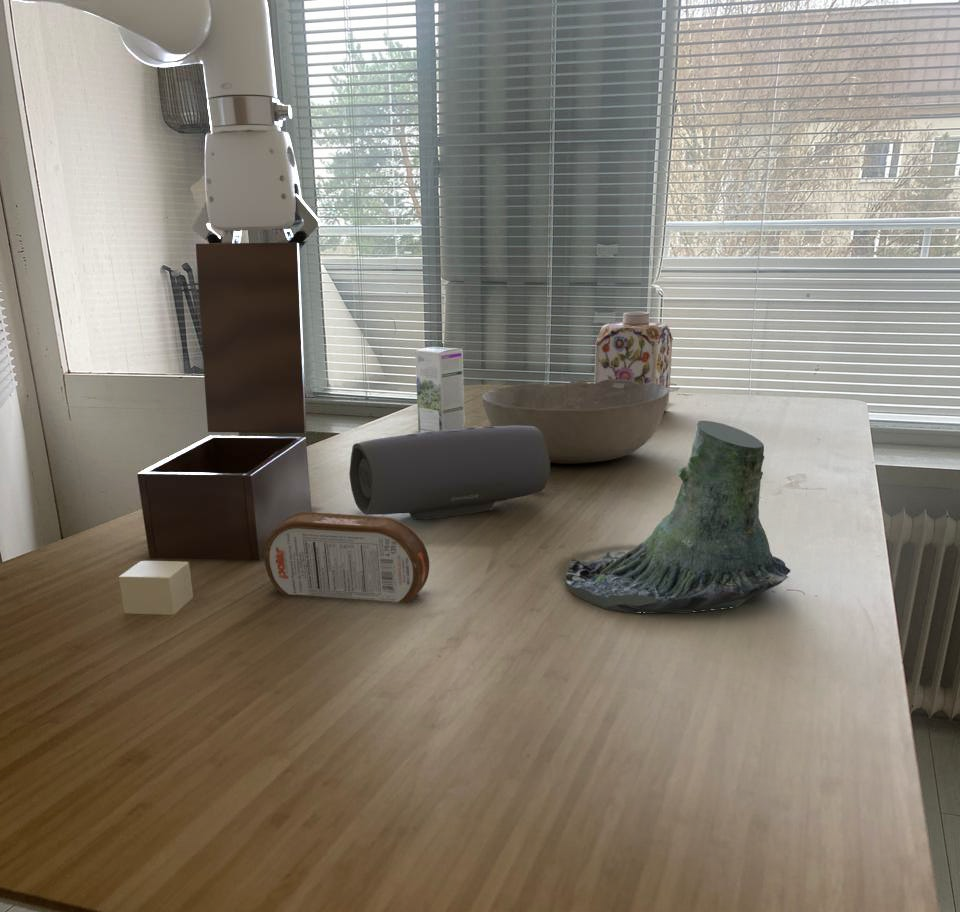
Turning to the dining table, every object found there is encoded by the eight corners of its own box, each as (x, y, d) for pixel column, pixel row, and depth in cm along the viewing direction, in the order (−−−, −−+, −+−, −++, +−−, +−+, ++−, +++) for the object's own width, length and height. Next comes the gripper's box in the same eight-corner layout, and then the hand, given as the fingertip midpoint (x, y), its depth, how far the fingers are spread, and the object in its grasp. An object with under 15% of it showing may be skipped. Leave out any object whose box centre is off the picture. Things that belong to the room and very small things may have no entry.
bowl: (687, 446, 154) (691, 381, 150) (628, 483, 131) (632, 408, 127) (529, 433, 165) (529, 372, 162) (450, 465, 143) (448, 396, 139)
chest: (260, 571, 98) (250, 475, 95) (150, 568, 100) (136, 473, 96) (312, 519, 116) (306, 436, 113) (218, 517, 118) (209, 435, 114)
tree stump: (601, 549, 105) (652, 386, 97) (779, 620, 99) (849, 451, 91) (532, 593, 90) (586, 403, 82) (737, 681, 83) (817, 483, 75)
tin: (431, 606, 89) (429, 515, 85) (422, 618, 86) (418, 525, 82) (278, 594, 92) (269, 507, 88) (264, 606, 89) (254, 516, 86)
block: (126, 625, 85) (118, 576, 83) (147, 607, 89) (140, 560, 87) (175, 626, 84) (168, 577, 83) (195, 608, 89) (189, 561, 87)
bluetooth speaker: (516, 493, 127) (517, 415, 123) (551, 509, 119) (553, 427, 115) (350, 514, 118) (344, 431, 114) (376, 534, 110) (371, 445, 106)
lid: (296, 242, 107) (310, 248, 112) (195, 243, 108) (212, 249, 113) (304, 433, 112) (317, 430, 117) (207, 432, 113) (223, 429, 118)
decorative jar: (669, 410, 186) (676, 310, 179) (654, 420, 176) (660, 315, 169) (609, 406, 190) (613, 309, 183) (590, 416, 180) (594, 314, 173)
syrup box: (466, 438, 162) (464, 347, 156) (441, 443, 158) (439, 350, 152) (441, 434, 165) (439, 345, 160) (416, 439, 161) (413, 348, 156)
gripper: (329, 118, 109) (343, 290, 116) (182, 125, 111) (205, 294, 118) (311, 112, 102) (327, 294, 110) (156, 119, 104) (182, 298, 111)
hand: (264, 292), depth 114 cm, fingers closed on lid, 5 cm apart
